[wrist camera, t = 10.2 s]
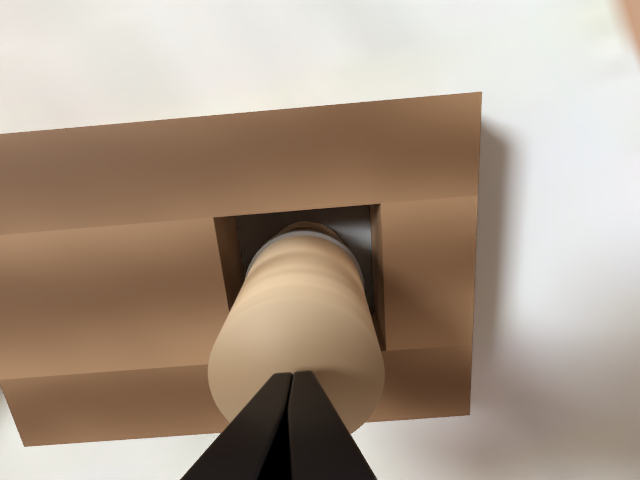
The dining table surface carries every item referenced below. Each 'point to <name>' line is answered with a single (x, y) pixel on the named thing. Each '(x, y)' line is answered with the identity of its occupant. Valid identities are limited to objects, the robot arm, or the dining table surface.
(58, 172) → the seat board
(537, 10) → the dining table surface
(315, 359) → the peg
